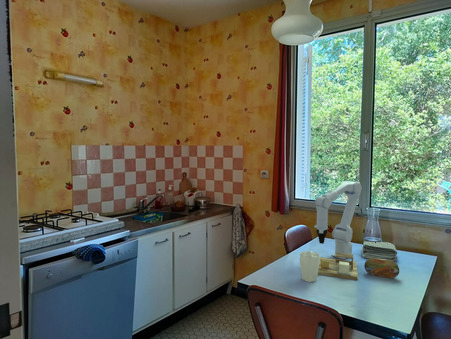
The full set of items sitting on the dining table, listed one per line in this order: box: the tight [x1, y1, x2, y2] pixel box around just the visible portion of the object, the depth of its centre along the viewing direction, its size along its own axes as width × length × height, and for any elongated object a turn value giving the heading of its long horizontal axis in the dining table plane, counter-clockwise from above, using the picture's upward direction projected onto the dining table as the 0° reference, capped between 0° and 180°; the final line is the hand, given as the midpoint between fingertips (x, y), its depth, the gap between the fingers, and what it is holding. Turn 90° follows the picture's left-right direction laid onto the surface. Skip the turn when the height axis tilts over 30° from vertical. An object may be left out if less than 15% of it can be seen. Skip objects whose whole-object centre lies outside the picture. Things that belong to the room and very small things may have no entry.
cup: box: [299, 250, 320, 283], centre depth 143 cm, size 9×9×12 cm
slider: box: [321, 260, 351, 275], centre depth 150 cm, size 6×14×4 cm, turn 68°
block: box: [339, 261, 349, 274], centre depth 148 cm, size 4×4×4 cm
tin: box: [363, 258, 400, 279], centre depth 148 cm, size 15×3×8 cm, turn 62°
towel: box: [361, 241, 398, 262], centre depth 178 cm, size 15×18×8 cm
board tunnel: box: [317, 252, 359, 281], centre depth 157 cm, size 22×19×8 cm
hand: (321, 243), depth 167 cm, fingers closed
